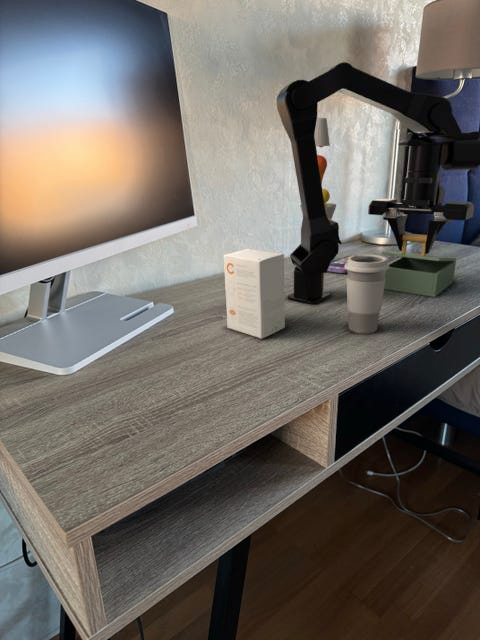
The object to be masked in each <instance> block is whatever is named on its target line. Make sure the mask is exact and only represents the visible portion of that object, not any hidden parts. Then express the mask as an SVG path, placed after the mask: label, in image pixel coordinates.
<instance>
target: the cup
mask: <svg viewBox="0 0 480 640" xmlns="http://www.w3.org/2000/svg"><path fill="white" fill-rule="evenodd" d="M349 256H350V257H349V258H348V262H347V263H346V264H345V269H347V271H348V273H347V276H346V296H347V297H346V302H347V303H346V309H347V313H348V314H347V315H348V330H349V331H351V332H353V333H356V334H361V335H362V334H363V335H365V334H367V335H368V334H373V333H375V332H377V330H378V326H379V325H378V324H379V318H380V312H381V311H382V305H383V304H382V303H383V299H384V291H385V289H384V285H385V279H386V277H385V272H386V270H388V269H389V264H388V263H389V262H387V261H388V260H387V257H386V256H384V255H379V254H365V253H363V254H356V255H355V254H354V255H349Z"/></svg>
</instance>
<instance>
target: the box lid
mask: <svg viewBox="0 0 480 640" xmlns="http://www.w3.org/2000/svg"><path fill="white" fill-rule="evenodd" d="M426 239H427V234H417V233H407V232H405V233H404V234H403V236H402V241H403V245H402V251H382V252H381V256H391V257H398V258H399V257H407V258H416V259H425V260H433V261H456V262H457V257H448V256H440V255H432V254H425V246H426ZM408 243H418V244H422V247H421V251H420V253H413V252H407V246H408Z"/></svg>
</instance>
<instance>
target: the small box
mask: <svg viewBox="0 0 480 640" xmlns="http://www.w3.org/2000/svg"><path fill="white" fill-rule="evenodd" d="M223 267H224V287H225V305H226V308H225V309H226V324H227V325H226V327H227V328H228V329H230V330H233V331H236V332H239V333H243V334H245V335H249V336H252V337H255V338H258V339H264V338H267V337H268V336H271V335H273V334H275V333H277V332H279V331H281V330H283V329H284V328H285V327H286V309H285V307H286V304H285V303H286V302H285V301H286V300H285V299H286V298H285V295H286V294H285V293H286V292H285V254H284V253H280V252H273V251H266V250H259V249H253V248H246V249H242V250H238V251H234V252H230V253H226V254H223Z"/></svg>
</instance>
